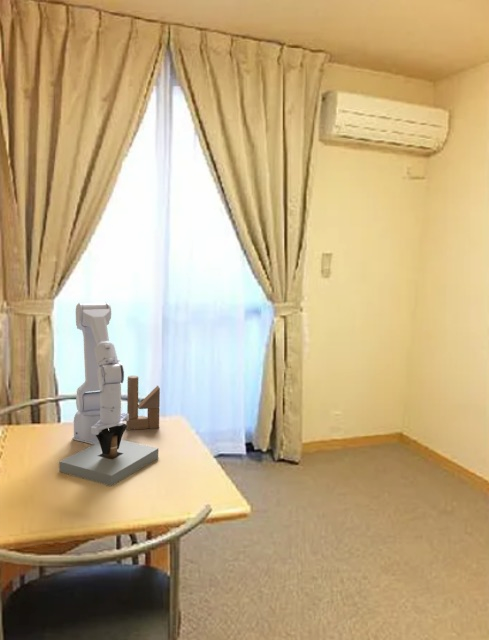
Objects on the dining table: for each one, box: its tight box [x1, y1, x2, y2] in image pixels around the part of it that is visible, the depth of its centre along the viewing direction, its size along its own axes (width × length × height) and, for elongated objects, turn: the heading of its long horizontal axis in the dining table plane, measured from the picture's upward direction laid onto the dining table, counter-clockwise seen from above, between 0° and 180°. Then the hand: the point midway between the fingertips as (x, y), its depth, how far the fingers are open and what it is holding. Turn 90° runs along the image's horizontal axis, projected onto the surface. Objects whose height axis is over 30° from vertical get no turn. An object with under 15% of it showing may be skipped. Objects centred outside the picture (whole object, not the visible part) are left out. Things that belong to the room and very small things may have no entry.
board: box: [58, 439, 159, 487], centre depth 170 cm, size 18×22×3 cm
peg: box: [104, 434, 117, 459], centre depth 169 cm, size 4×4×6 cm
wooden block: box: [125, 375, 161, 431], centre depth 199 cm, size 4×11×18 cm, turn 108°
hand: (110, 451), depth 169 cm, fingers closed on peg, 4 cm apart
